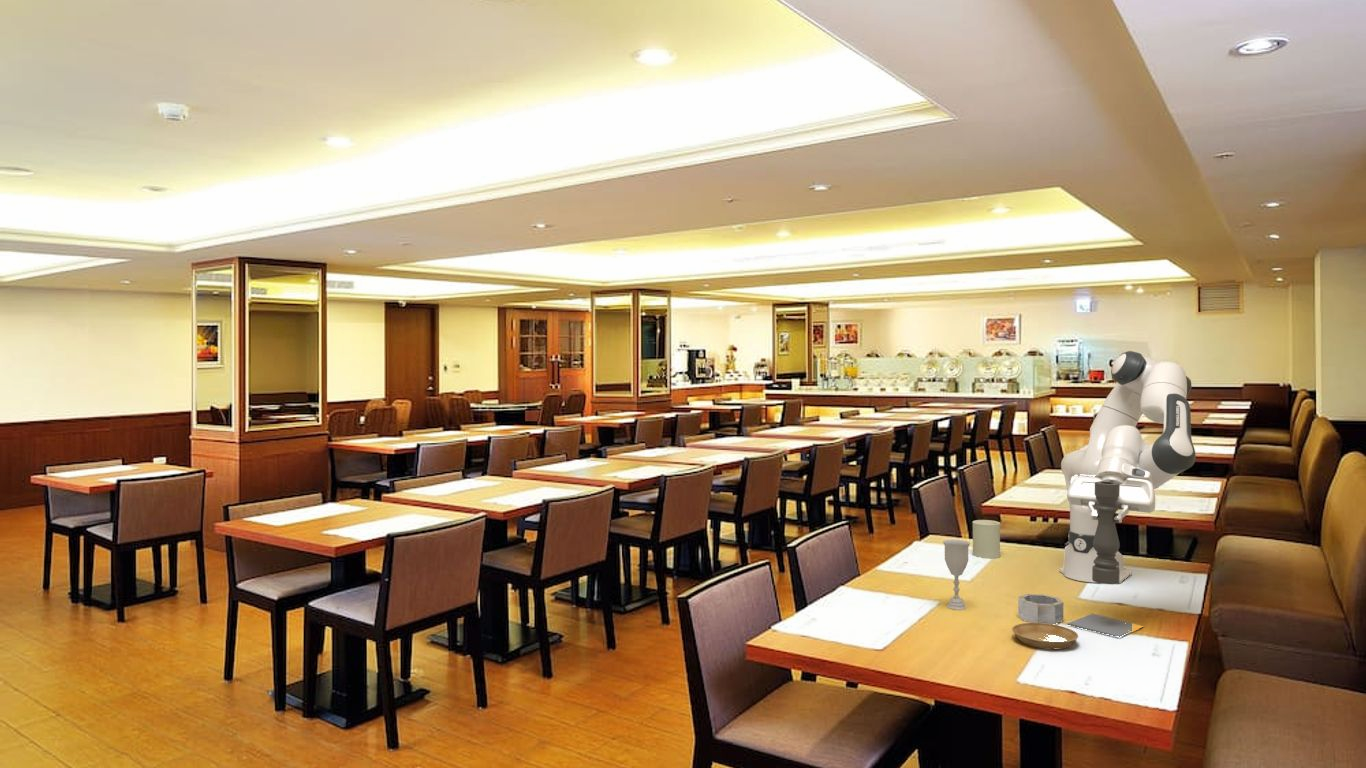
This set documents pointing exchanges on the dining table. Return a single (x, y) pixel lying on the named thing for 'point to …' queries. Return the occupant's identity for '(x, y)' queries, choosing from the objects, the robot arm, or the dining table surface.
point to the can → (986, 539)
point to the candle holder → (1106, 534)
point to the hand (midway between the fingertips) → (1105, 519)
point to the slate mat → (1103, 625)
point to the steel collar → (1040, 608)
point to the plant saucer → (1044, 634)
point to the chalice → (956, 567)
